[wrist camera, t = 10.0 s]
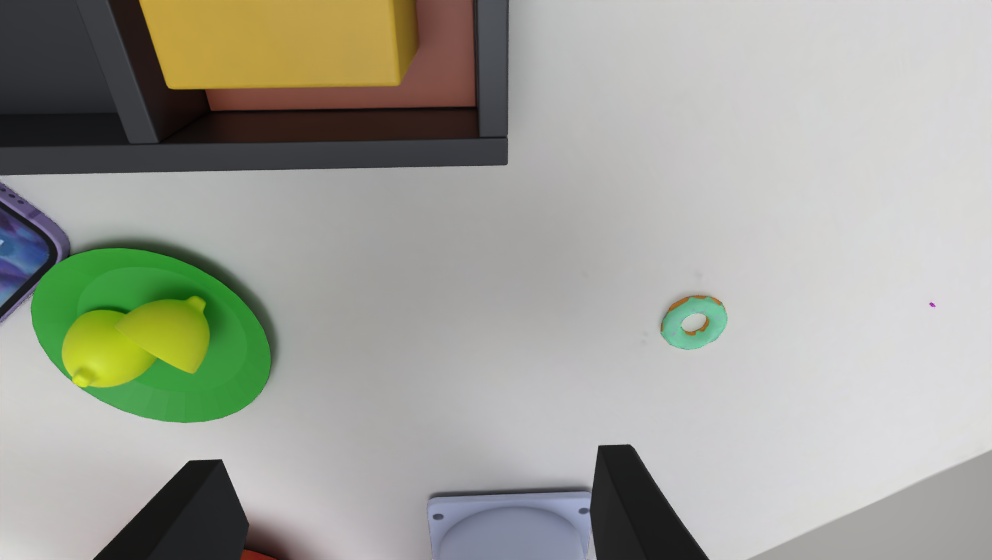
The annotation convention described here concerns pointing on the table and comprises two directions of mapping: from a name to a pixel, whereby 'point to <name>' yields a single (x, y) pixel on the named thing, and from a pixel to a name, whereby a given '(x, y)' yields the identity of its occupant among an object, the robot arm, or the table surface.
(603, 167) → the table surface
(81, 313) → the green plate
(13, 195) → the smartphone
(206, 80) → the block
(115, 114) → the tray
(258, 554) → the apple
